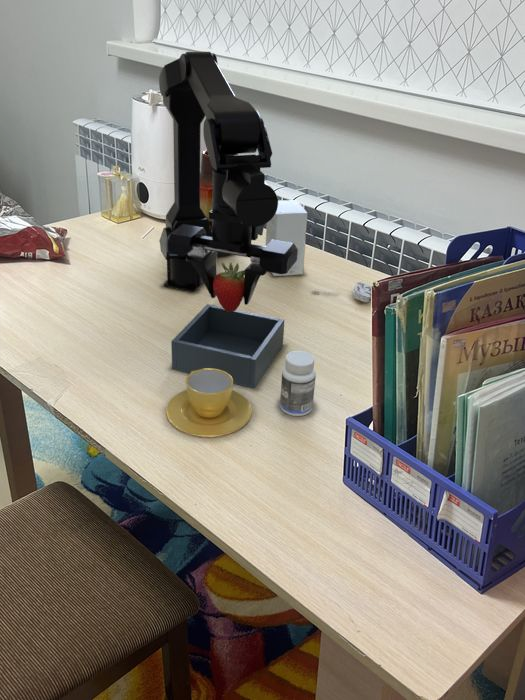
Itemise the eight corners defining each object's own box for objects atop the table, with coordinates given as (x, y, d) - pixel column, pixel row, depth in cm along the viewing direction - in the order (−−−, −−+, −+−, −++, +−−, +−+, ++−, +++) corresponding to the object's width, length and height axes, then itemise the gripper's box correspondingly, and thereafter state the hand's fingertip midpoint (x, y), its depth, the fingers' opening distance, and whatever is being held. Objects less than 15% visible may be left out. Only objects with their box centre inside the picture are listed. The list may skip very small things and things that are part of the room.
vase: (247, 243, 152) (250, 150, 142) (227, 260, 143) (228, 163, 133) (202, 234, 155) (202, 143, 145) (180, 251, 147) (178, 155, 136)
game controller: (381, 303, 129) (383, 291, 128) (322, 306, 127) (323, 294, 126) (372, 290, 134) (374, 277, 133) (314, 293, 132) (315, 280, 131)
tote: (171, 369, 107) (171, 341, 104) (207, 329, 118) (207, 303, 115) (254, 388, 103) (255, 360, 101) (282, 346, 114) (284, 319, 112)
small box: (303, 275, 139) (308, 212, 132) (272, 276, 138) (276, 214, 131) (293, 259, 146) (297, 199, 139) (264, 260, 144) (266, 200, 138)
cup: (267, 422, 96) (269, 390, 93) (190, 449, 90) (189, 415, 88) (225, 380, 105) (225, 350, 102) (152, 402, 99) (150, 370, 96)
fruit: (249, 318, 105) (251, 270, 101) (214, 320, 104) (214, 271, 100) (245, 303, 109) (246, 256, 105) (211, 304, 108) (211, 257, 104)
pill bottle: (278, 398, 101) (281, 348, 97) (309, 397, 102) (314, 348, 97) (281, 417, 97) (284, 366, 93) (314, 416, 98) (319, 366, 93)
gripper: (311, 194, 102) (304, 290, 110) (195, 177, 107) (196, 269, 115) (288, 218, 93) (282, 321, 101) (163, 198, 98) (166, 297, 106)
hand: (230, 300), depth 106 cm, fingers closed on fruit, 5 cm apart
